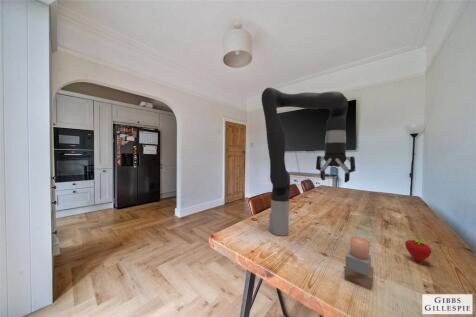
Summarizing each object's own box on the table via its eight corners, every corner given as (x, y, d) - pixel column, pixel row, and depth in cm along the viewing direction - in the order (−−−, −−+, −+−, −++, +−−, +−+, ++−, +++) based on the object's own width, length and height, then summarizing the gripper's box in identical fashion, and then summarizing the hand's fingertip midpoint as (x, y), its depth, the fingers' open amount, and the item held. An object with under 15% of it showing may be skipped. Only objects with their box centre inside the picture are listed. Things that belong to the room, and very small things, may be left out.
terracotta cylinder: (355, 259, 56) (355, 243, 56) (347, 250, 61) (347, 236, 61) (372, 260, 55) (372, 244, 55) (363, 251, 60) (363, 237, 60)
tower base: (344, 280, 58) (344, 268, 58) (348, 269, 63) (348, 258, 63) (371, 291, 53) (371, 278, 53) (373, 279, 59) (373, 267, 58)
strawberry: (411, 255, 73) (412, 230, 73) (435, 266, 65) (436, 239, 65) (400, 256, 71) (401, 232, 71) (423, 268, 64) (424, 241, 64)
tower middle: (345, 267, 58) (345, 255, 58) (349, 259, 62) (349, 248, 62) (368, 276, 54) (368, 263, 54) (370, 267, 58) (370, 255, 58)
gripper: (357, 142, 72) (356, 182, 72) (320, 143, 81) (319, 178, 81) (353, 140, 66) (352, 184, 66) (314, 142, 76) (313, 180, 76)
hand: (334, 181), depth 74 cm, fingers open, 8 cm apart
